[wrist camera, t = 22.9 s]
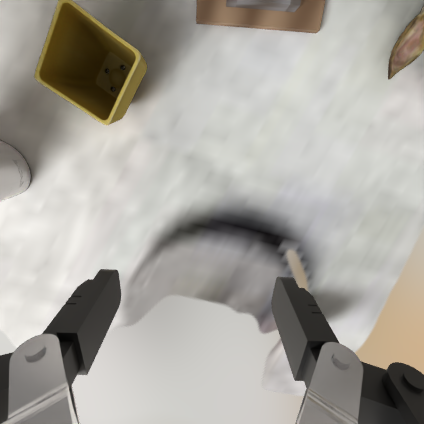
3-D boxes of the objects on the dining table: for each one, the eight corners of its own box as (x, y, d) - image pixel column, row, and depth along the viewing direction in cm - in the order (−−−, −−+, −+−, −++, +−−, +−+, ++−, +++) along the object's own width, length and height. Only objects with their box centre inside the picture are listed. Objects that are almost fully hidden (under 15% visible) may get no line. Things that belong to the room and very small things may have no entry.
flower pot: (76, 87, 33) (31, 78, 24) (101, 25, 30) (59, -10, 22) (131, 124, 35) (107, 127, 26) (159, 69, 32) (142, 53, 24)
